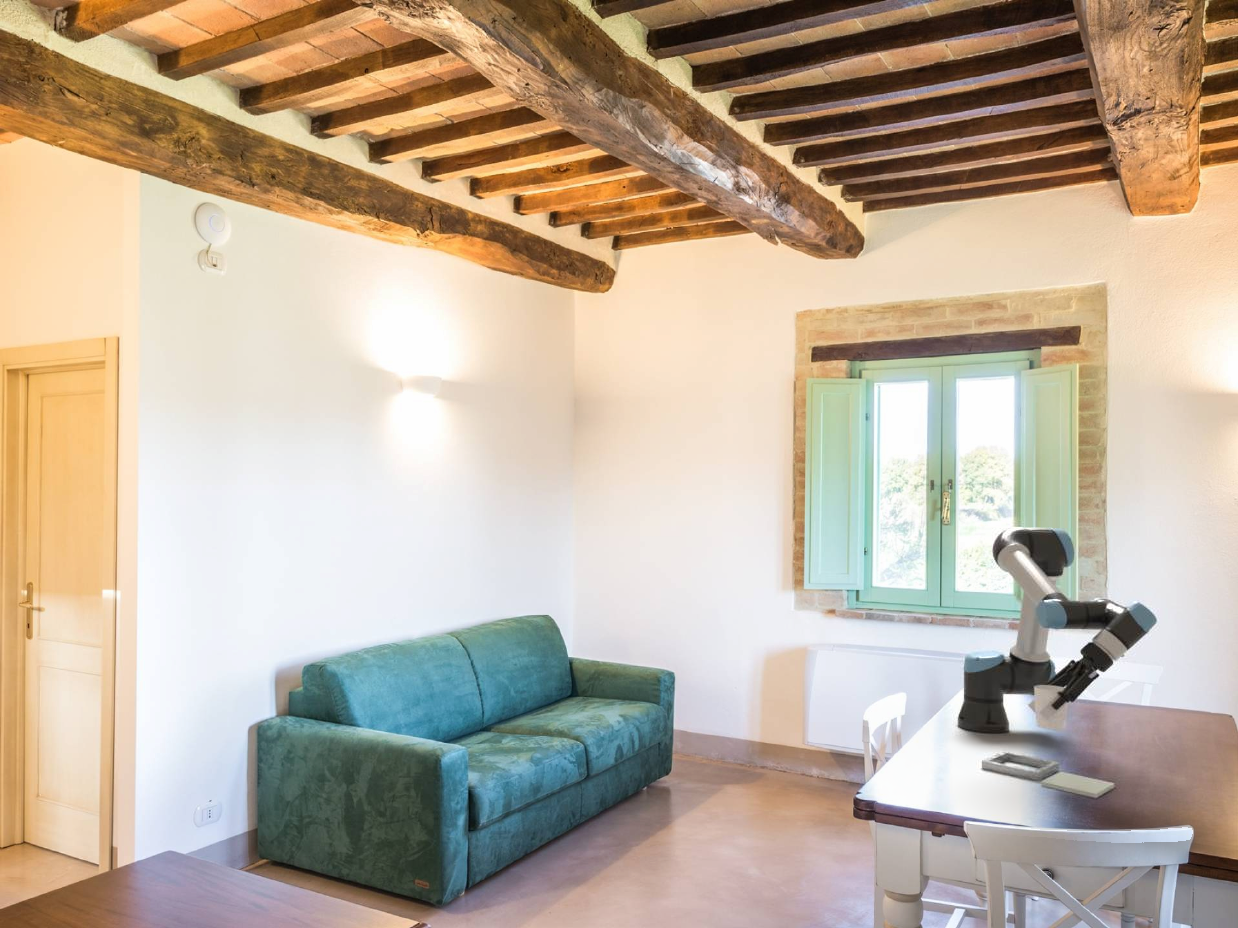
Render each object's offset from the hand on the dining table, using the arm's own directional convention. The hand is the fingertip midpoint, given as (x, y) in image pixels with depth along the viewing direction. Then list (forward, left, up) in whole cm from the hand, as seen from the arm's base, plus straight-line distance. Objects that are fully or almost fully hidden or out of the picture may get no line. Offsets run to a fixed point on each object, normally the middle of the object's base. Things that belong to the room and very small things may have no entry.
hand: (1037, 712), depth 245 cm
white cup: (+3, +2, -4) cm, 5 cm away
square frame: (-6, +5, -17) cm, 19 cm away
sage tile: (+10, +1, -17) cm, 19 cm away
